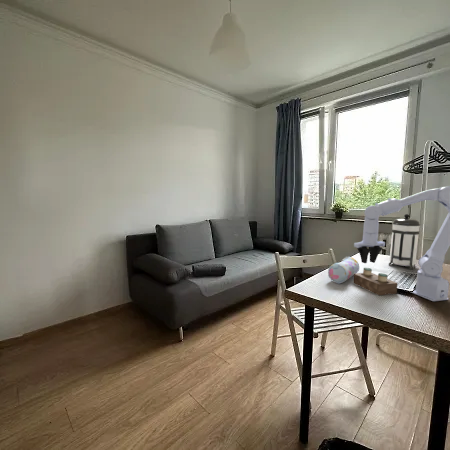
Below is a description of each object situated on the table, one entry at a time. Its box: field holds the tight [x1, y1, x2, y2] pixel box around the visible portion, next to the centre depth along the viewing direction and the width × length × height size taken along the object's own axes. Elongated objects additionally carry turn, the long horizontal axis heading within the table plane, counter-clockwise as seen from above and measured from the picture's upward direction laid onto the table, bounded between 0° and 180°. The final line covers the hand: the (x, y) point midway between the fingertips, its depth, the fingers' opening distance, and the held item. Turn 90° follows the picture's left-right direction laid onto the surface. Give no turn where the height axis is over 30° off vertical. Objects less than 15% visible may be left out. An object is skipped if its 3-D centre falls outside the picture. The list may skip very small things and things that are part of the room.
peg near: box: [377, 272, 388, 283], centre depth 100 cm, size 3×3×4 cm
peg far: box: [362, 267, 373, 277], centre depth 108 cm, size 3×3×4 cm
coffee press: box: [388, 213, 421, 271], centre depth 134 cm, size 17×16×30 cm
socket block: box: [352, 272, 398, 296], centre depth 104 cm, size 14×9×4 cm, turn 12°
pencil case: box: [327, 256, 360, 284], centre depth 116 cm, size 21×9×10 cm, turn 136°
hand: (368, 262), depth 107 cm, fingers open, 4 cm apart
